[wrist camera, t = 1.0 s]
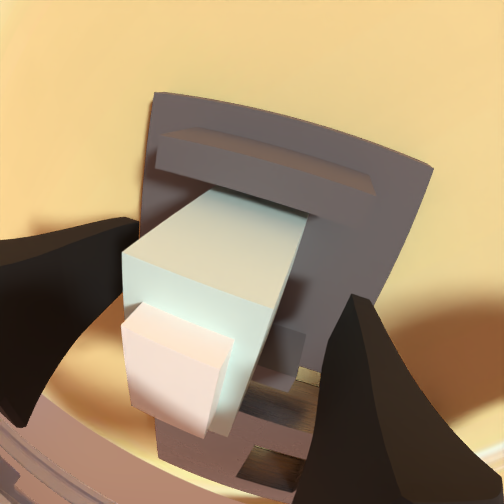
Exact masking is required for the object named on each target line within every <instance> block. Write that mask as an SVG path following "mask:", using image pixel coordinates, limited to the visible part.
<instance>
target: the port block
mask: <svg viewBox="0 0 504 504" xmlns="http://www.w3.org/2000/svg"><path fill="white" fill-rule="evenodd" d="M318 395H319V387H316V386H313V385H310V384H306V383H303V382H300V381H297V380H295V381H294V383H293V384H292V386H291V388H290V390H289V392H285V391H281V390H278V389H275V388H272V387H269V386H266V385H263V384H261V383H258V382H255V381H252V380H251V381H250V383H249V386H248V389H247V391H246V394H245V396H244V398H243V401H242V403H241V406H240V408H239V411H238V413H237V416H236V418H235V421H234V423H233V425H232V428H231V430H230V433H229V435H228V437H225V436H223V435H220V434H217V433H215V432H212V431H210V430H208V431H207V433H206V435H205V437H204V439H202V438H200V437H197V436H195V435H192V434H190V433H188V432H185V431H183V430H181V429H179V428H176V427H174V426H172V425H170V424H168V423H165V422H163V421H161V420H159V419H157V418H155V429H156V440H157V450H158V458H159V459H162V460H164V461H166V462H168V463H170V464H172V465H175V466H177V467H179V468H182V469H184V470H186V471H189V472H191V473H194V474H196V475H199V476H201V477H204V478H206V479H209V480H212V481H214V482H217V483H220V484H223V485H226V486H229V487H231V488H235V489H238V490H241V491H244V492H247V493H250V494H254V495H257V496H261V497H264V498H268V499H272V500H276V501H280V502H284V503H288V504H291V503H292V501H293V498H294V495H295V493H296V490H297V487H298V484H299V481H300V478H301V475H302V472H303V469H304V466H305V462H306V459H307V455H308V452H309V448H310V445H311V441H312V437H313V431H314V426H315V419H316V411H317V403H318ZM254 445H257V446H260V447H263V448H266V449H269V450H273V451H276V452H280V453H283V454H287V455H290V456H294V457H298V458H302V459H301V460H300V459H296V458H292V457H288V456H285V455H281V454H278V453H274V452H271V451H268V450H264V449H261V448H258V447H255V446H254Z"/></svg>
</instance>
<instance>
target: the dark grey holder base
mask: <svg viewBox="0 0 504 504" xmlns="http://www.w3.org/2000/svg"><path fill="white" fill-rule="evenodd" d="M433 170H434V168H432V167H431V166H430V165H428V164H426V163H424V162H422V161H419V160H417V159H414V158H412V157H410V156H407V155H405V154H402V153H400V152H397V151H395V150H392V149H389V148H387V147H384V146H381V145H379V144H376V143H373V142H371V141H368V140H365V139H362V138H359V137H356V136H353V135H350V134H347V133H344V132H341V131H338V130H335V129H332V128H328V127H325V126H322V125H318V124H315V123H312V122H308V121H305V120H301V119H297V118H294V117H290V116H286V115H282V114H278V113H274V112H270V111H266V110H261V109H257V108H253V107H248V106H243V105H239V104H234V103H229V102H224V101H218V100H213V99H207V98H201V97H195V96H189V95H182V94H175V93H167V92H154V98H153V104H152V111H151V118H150V125H149V133H148V141H147V150H146V159H145V169H144V180H143V193H142V208H141V226H140V238H141V237H143V236H144V235H145V234H147V233H148V232H150V231H151V230H152V229H154V228H155V227H156V226H158V225H159V224H161V223H162V222H163V221H165V220H166V219H168V218H169V217H170V216H172V215H173V214H175V213H176V212H178V211H179V210H180V209H182V208H183V207H185V206H186V205H188V204H189V203H191V202H192V201H194V200H195V199H196V198H198V197H199V196H201V195H202V194H204V193H205V192H207V191H208V190H210V189H211V188H213V187H214V186H216V185H219V186H222V187H226V188H229V189H233V190H236V191H240V192H243V193H246V194H250V195H253V196H256V197H260V198H263V199H266V200H269V201H273V202H276V203H279V204H282V205H285V206H288V207H292V208H295V209H298V210H301V211H304V212H307V213H309V216H308V219H307V222H306V225H305V228H304V231H303V235H302V238H301V241H300V244H299V247H298V250H297V253H296V256H295V259H294V262H293V265H292V268H291V271H290V274H289V277H288V280H287V283H286V286H285V289H284V292H283V295H282V298H281V301H280V304H279V307H278V310H277V313H276V315H275V318H274V321H273V324H272V326H271V329H270V332H269V334H268V337H267V340H266V342H265V345H264V347H263V350H262V353H261V355H260V358H259V360H258V363H257V366H256V368H255V371H254V373H253V376H252V378H251V380H252V381H255V382H258V383H261V384H263V385H266V386H269V387H272V388H275V389H278V390H281V391H285V392H289V390H290V388H291V386H292V384H293V383H294V381H295V379H296V376H297V372H298V368H299V366H301V367H304V368H307V369H310V370H314V371H317V372H320V373H321V369H322V364H323V360H324V355H325V351H326V347H327V342H328V339H329V338H330V336H331V334H332V332H333V330H334V328H335V326H336V324H337V322H338V320H339V318H340V316H341V314H342V312H343V310H344V308H345V306H346V304H347V301H348V299H349V297H350V295H351V293H352V294H355V295H358V296H361V297H364V298H367V299H370V301H371V303H372V305H373V306H374V304H375V302H376V300H377V298H378V296H379V294H380V292H381V290H382V288H383V286H384V284H385V282H386V280H387V278H388V276H389V274H390V272H391V270H392V268H393V266H394V264H395V262H396V260H397V258H398V255H399V253H400V251H401V249H402V247H403V245H404V242H405V240H406V238H407V236H408V233H409V231H410V229H411V226H412V224H413V222H414V219H415V217H416V214H417V212H418V209H419V207H420V204H421V202H422V199H423V197H424V194H425V192H426V189H427V186H428V184H429V181H430V178H431V175H432V173H433Z"/></svg>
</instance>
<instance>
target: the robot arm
mask: <svg viewBox="0 0 504 504" xmlns="http://www.w3.org/2000/svg"><path fill="white" fill-rule="evenodd" d="M137 240H139V221H136V220H133V219H130V218H127V217H119V218H112V219H107V220H102V221H98V222H93V223H89V224H85V225H81V226H77V227H73V228H68V229H64V230H59V231H55V232H50V233H46V234H41V235H36V236H30V237H23V238H17V239H8V240H0V412H1V413H2V414H3V415H4V416H5V417H6V418H7V419H8V420H9V421H10V422H11V423H12V424H13V425H15V426H16V427H18V428H23V427H26V426H27V423H28V421H29V418H30V416H31V414H32V412H33V409H34V407H35V405H36V403H37V401H38V399H39V397H40V395H41V393H42V392H43V390H44V388H45V386H46V384H47V383H48V381H49V379H50V377H51V376H52V374H53V373H54V371H55V369H56V368H57V366H58V365H59V363H60V362H61V360H62V359H63V357H64V356H65V355H66V353H67V352H68V350H69V349H70V348H71V346H72V345H73V344H74V342H75V341H76V340H77V339H78V337H79V336H80V335H81V334H82V333H83V332H84V331H85V330H86V329H87V328H88V326H89V325H90V324H91V323H92V322H93V321H94V320H95V319H96V318H97V317H98V316H99V315H100V314H101V313H102V312H103V311H104V310H105V309H106V308H107V307H108V306H109V305H110V304H111V303H112V302H113V301H114V300H115V299H116V298H117V297H118V296H119V295H120V294H121V293H122V292H123V279H122V252H123V251H124V250H125V249H127V248H128V247H129V246H131V245H132V244H133V243H135V242H136V241H137ZM0 446H1V447H2V448H3V449H4V450H5V451H6V452H8V454H10V455H11V456H12V457H13V458H14V459H15V460H16V461H17V462H18V463H20V464H21V465H22V466H23V467H24V468H25V469H27V470H28V471H29V472H30V473H31V474H33V475H34V476H35V477H36V478H37V479H39V480H40V481H41V482H42V483H44V484H45V485H46V486H48V487H49V488H50V489H52V490H53V491H54V492H56V493H57V494H58V495H60V496H61V497H63V498H64V499H65V500H67V501H69V502H70V503H71V504H117V503H116V502H114V501H112V500H110V499H109V498H107V497H105V496H103V495H101V494H100V493H98V492H97V491H95V490H93V489H91V488H90V487H88V486H87V485H85V484H84V483H82V482H81V481H79V480H78V479H76V478H75V477H73V476H72V475H70V474H69V473H67V472H66V471H65V470H63V469H62V468H60V467H59V466H58V465H56V464H55V463H54V462H52V461H51V460H50V459H48V458H47V457H46V456H44V455H43V454H42V453H41V452H39V451H38V450H37V449H35V447H33V446H32V445H31V444H30V443H28V442H27V441H26V440H25V439H24V438H23V437H22V436H20V435H19V434H18V433H17V432H16V431H15V430H14V429H13V428H11V427H10V426H9V425H8V424H7V423H6V422H5V421H4V420H3V419H2V418H1V417H0ZM19 478H20V474H19V473H18V472H17V471H16V470H15V469H14V468H13V467H12V466H11V465H10V464H9V463H8V462H6V461H5V460H4V459H3V458H2V457H1V456H0V504H38V503H37V502H35V501H34V500H33V499H31V498H30V497H29V496H28V495H26V494H25V493H24V492H23V491H22V490H20V489H19V488H18V487H17V486H16V485H15V483H16V482H17V480H18V479H19ZM291 504H504V497H503V484H502V478H501V476H500V475H498V474H497V473H496V472H495V471H494V470H493V469H492V468H490V467H489V466H488V465H487V464H486V463H485V462H483V461H482V460H481V459H480V458H479V457H478V456H477V455H476V454H475V453H473V452H472V450H471V449H470V448H469V447H468V446H467V445H466V444H465V443H464V442H463V441H462V440H461V439H460V438H459V437H458V436H457V435H456V434H455V433H454V432H453V430H452V429H451V428H450V427H449V426H448V425H447V423H446V422H445V421H444V420H443V419H442V417H441V416H440V415H439V414H438V412H437V411H436V410H435V409H434V407H433V406H432V405H431V403H430V402H429V401H428V399H427V398H426V396H425V395H424V393H423V392H422V391H421V389H420V388H419V386H418V385H417V383H416V382H415V380H414V379H413V377H412V376H411V374H410V372H409V371H408V369H407V367H406V366H405V364H404V362H403V361H402V359H401V357H400V356H399V354H398V352H397V350H396V348H395V347H394V345H393V343H392V341H391V339H390V337H389V335H388V333H387V331H386V330H385V328H384V326H383V324H382V322H381V320H380V318H379V316H378V314H377V312H376V310H375V308H374V306H373V305H372V303H371V301H370V299H367V298H364V297H361V296H358V295H355V294H352V293H351V295H350V297H349V299H348V301H347V304H346V306H345V308H344V310H343V312H342V314H341V316H340V318H339V320H338V322H337V324H336V326H335V328H334V330H333V332H332V334H331V336H330V338H329V339H328V342H327V347H326V351H325V355H324V360H323V364H322V369H321V378H320V387H319V395H318V403H317V411H316V419H315V426H314V431H313V437H312V441H311V445H310V448H309V452H308V455H307V459H306V462H305V466H304V469H303V472H302V475H301V478H300V481H299V484H298V487H297V490H296V493H295V495H294V498H293V501H292V503H291Z"/></svg>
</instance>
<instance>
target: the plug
mask: <svg viewBox="0 0 504 504" xmlns="http://www.w3.org/2000/svg"><path fill="white" fill-rule="evenodd" d="M308 216H309V213H307V212H304V211H301V210H298V209H295V208H292V207H288V206H285V205H282V204H279V203H276V202H273V201H269V200H266V199H263V198H260V197H256V196H253V195H250V194H246V193H243V192H240V191H236V190H233V189H229V188H226V187H222V186H219V185H216V186H214V187H213V188H211V189H210V190H208V191H207V192H205V193H204V194H202V195H201V196H199V197H198V198H196V199H195V200H194V201H192V202H191V203H189V204H188V205H186V206H185V207H183V208H182V209H180V210H179V211H178V212H176V213H175V214H173V215H172V216H170V217H169V218H168V219H166V220H165V221H163V222H162V223H161V224H159V225H158V226H156V227H155V228H154V229H152V230H151V231H150V232H148V233H147V234H145V235H144V236H143V237H141V238H140V239H139V240H137V241H136V242H135V243H133V244H132V245H131V246H129V247H128V248H127V249H125V250H124V251H123V252H122V279H123V301H124V317H125V321H124V322H123V323H122V325H121V332H122V342H123V351H124V359H125V367H126V374H127V381H128V387H129V393H130V400H131V405H132V406H133V407H135V408H137V409H139V410H141V411H143V412H145V413H147V414H149V415H151V416H153V417H155V418H157V419H159V420H161V421H163V422H165V423H168V424H170V425H172V426H174V427H176V428H179V429H181V430H183V431H185V432H188V433H190V434H192V435H195V436H197V437H200V438H202V439H204V437H205V435H206V433H207V431H208V430H210V431H212V432H215V433H217V434H220V435H223V436H225V437H228V435H229V433H230V430H231V428H232V425H233V423H234V421H235V418H236V416H237V413H238V411H239V408H240V406H241V403H242V401H243V398H244V396H245V394H246V391H247V389H248V386H249V383H250V381H251V378H252V376H253V373H254V371H255V368H256V366H257V363H258V360H259V358H260V355H261V353H262V350H263V347H264V345H265V342H266V340H267V337H268V334H269V332H270V329H271V326H272V324H273V321H274V318H275V315H276V313H277V310H278V307H279V304H280V301H281V298H282V295H283V292H284V289H285V286H286V283H287V280H288V277H289V274H290V271H291V268H292V265H293V262H294V259H295V256H296V253H297V250H298V247H299V244H300V241H301V238H302V235H303V231H304V228H305V225H306V222H307V219H308Z"/></svg>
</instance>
